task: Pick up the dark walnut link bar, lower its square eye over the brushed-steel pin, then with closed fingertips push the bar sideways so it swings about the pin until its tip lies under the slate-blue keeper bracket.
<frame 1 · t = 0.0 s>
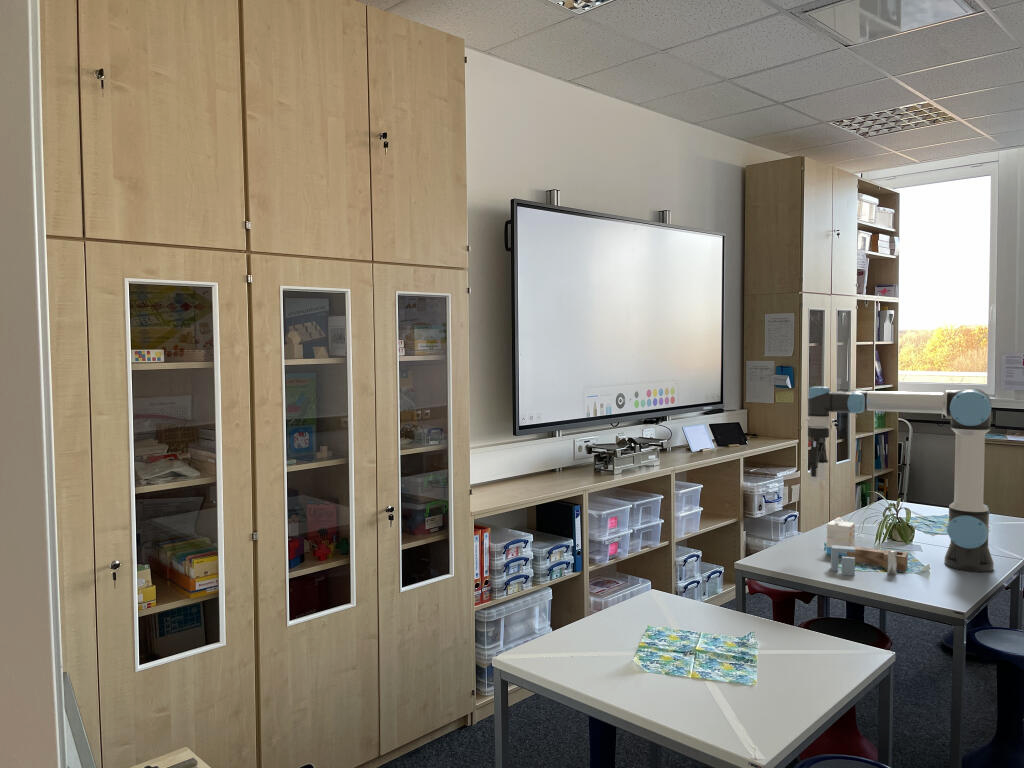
hand: (817, 482, 283), 28 cm above the table, fingers open, 13 cm apart
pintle: (891, 574, 259), on the table
ink box: (840, 553, 286), on the table
link: (871, 563, 272), on the table
keeper: (834, 569, 265), on the table
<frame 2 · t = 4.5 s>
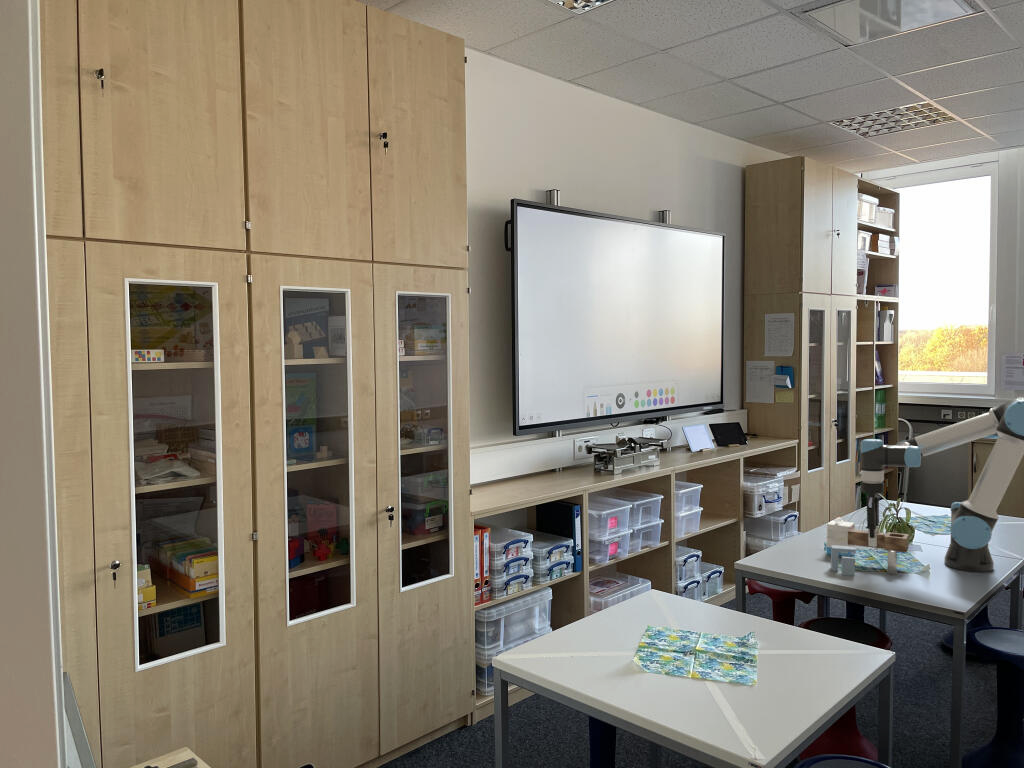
hand: (873, 544, 271), 7 cm above the table, fingers closed on link, 4 cm apart
link: (872, 546, 272), point 6 cm above the table, touching gripper
everything else where it was.
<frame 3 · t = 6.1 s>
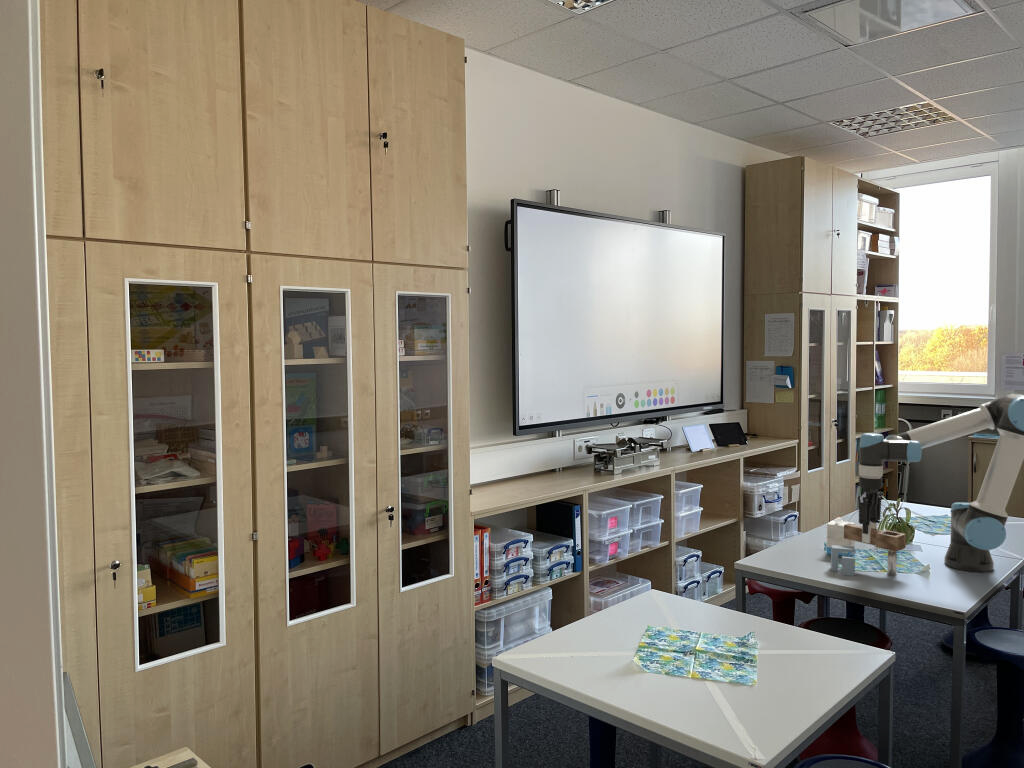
hand: (869, 541, 265), 10 cm above the table, fingers closed on link, 4 cm apart
link: (867, 542, 266), point 9 cm above the table, touching gripper
everything else where it was.
when the fingers open (2 cm above the table, at t = 7.7 s): link drops 1 cm, on the table.
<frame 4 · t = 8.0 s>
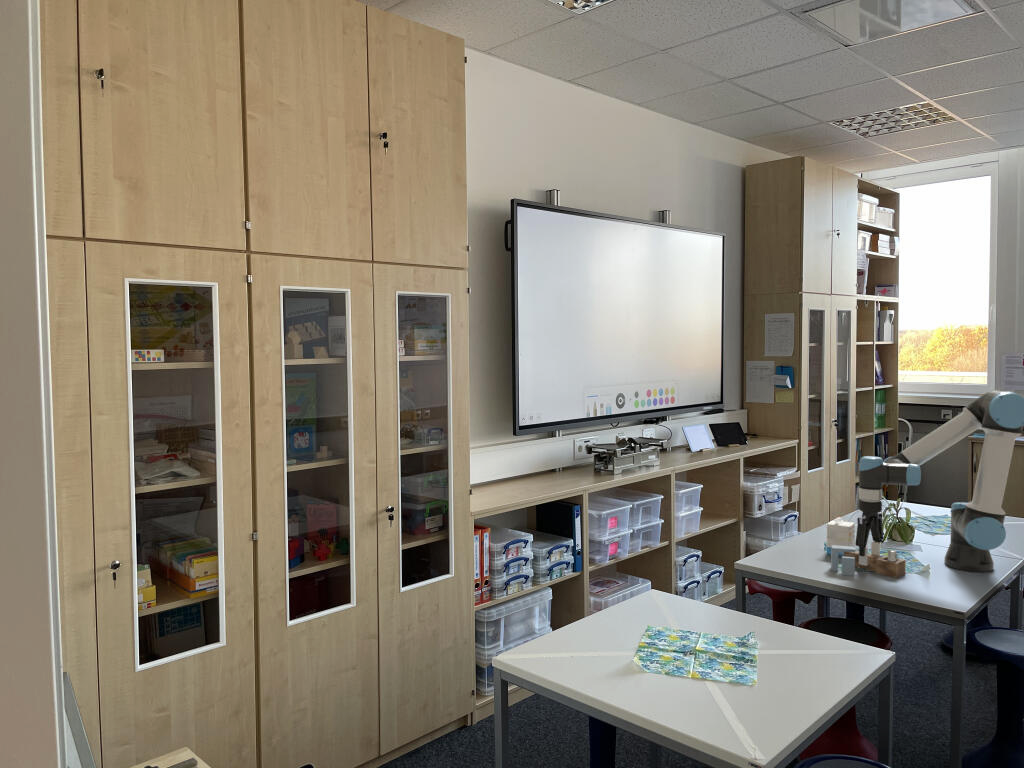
hand: (869, 562, 265), 2 cm above the table, fingers open, 8 cm apart
link: (867, 568, 266), on the table
everything else where it was.
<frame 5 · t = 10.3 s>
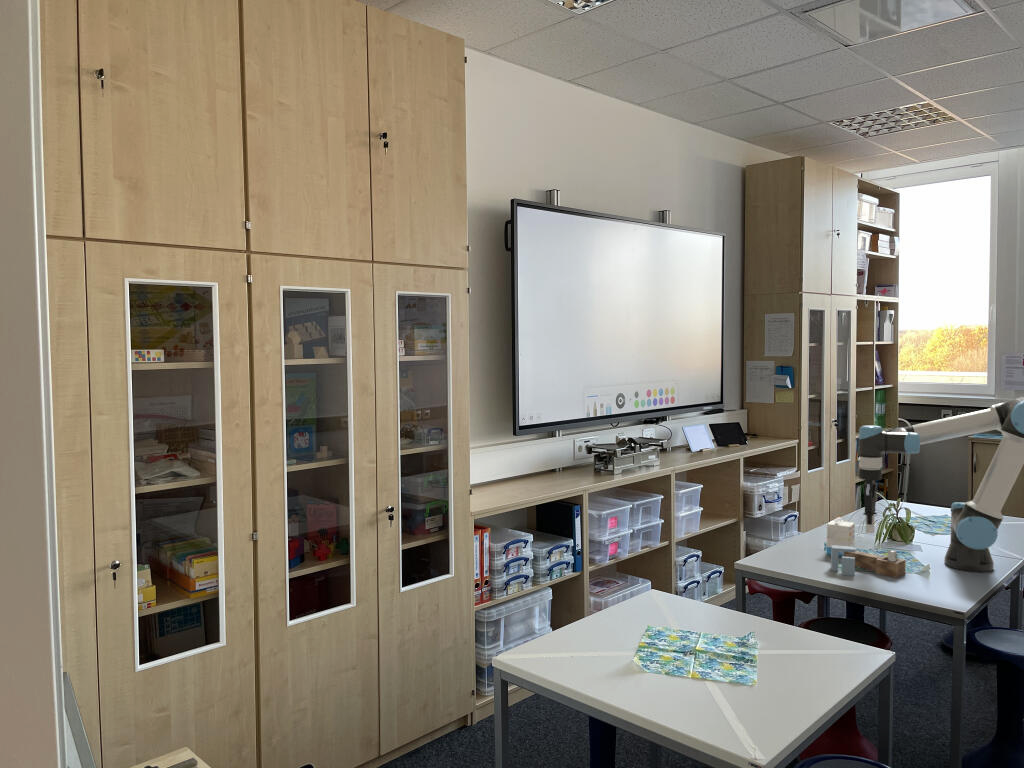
hand: (870, 532, 269), 12 cm above the table, fingers closed
nothing on the table moved.
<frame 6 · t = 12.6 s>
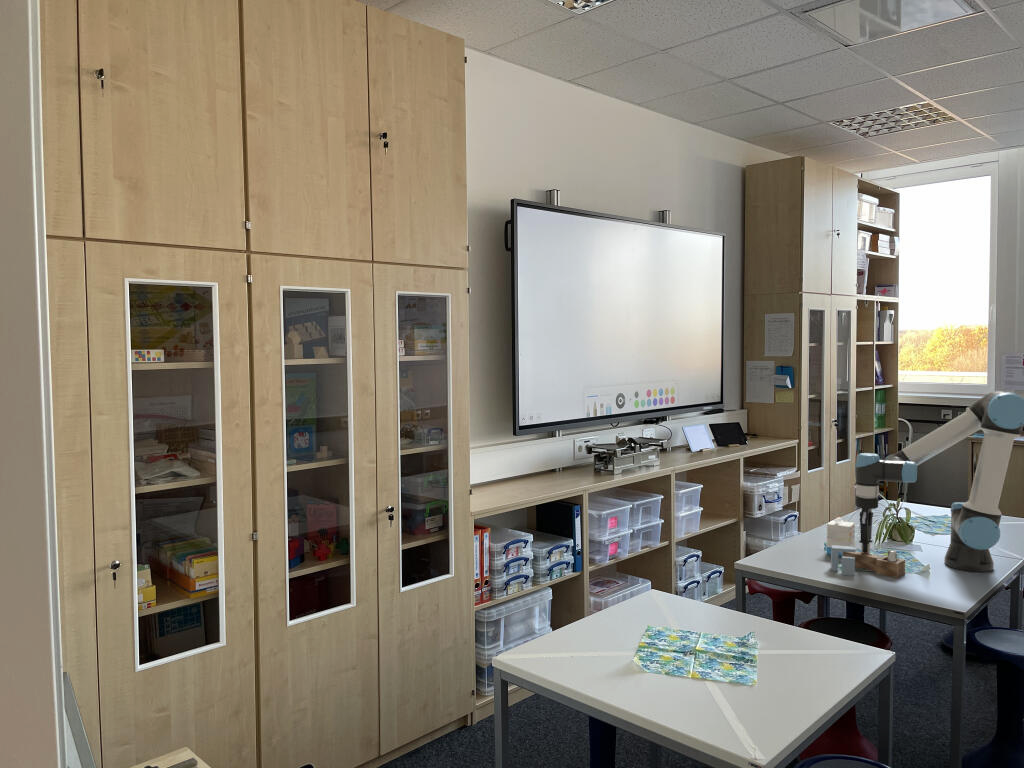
hand: (865, 560, 269), 2 cm above the table, fingers closed
link: (867, 568, 266), on the table, touching gripper
everything else where it was.
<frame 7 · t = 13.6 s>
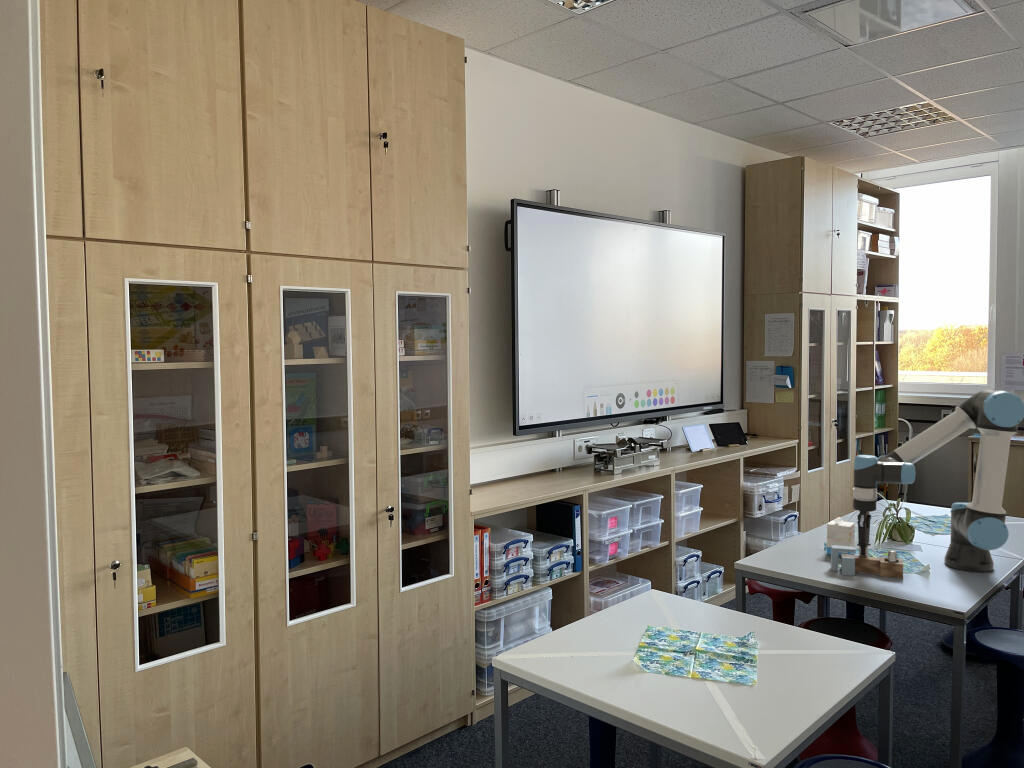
hand: (863, 563, 265), 2 cm above the table, fingers closed
link: (865, 571, 262), on the table, touching gripper, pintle
everything else where it was.
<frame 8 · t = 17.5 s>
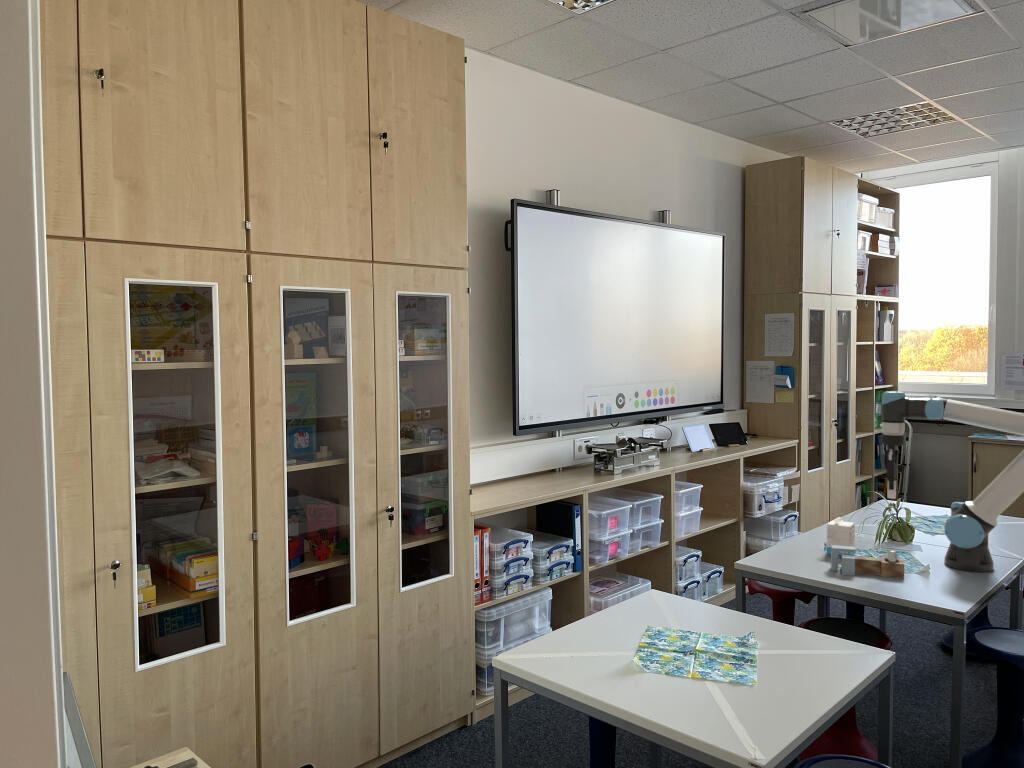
hand: (891, 498, 270), 24 cm above the table, fingers closed
link: (866, 572, 261), on the table
everything else where it was.
at the end: link 0.3 cm from the target spot, on the table; link 8.2 cm from the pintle (horizontally); link tilted 0° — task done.
